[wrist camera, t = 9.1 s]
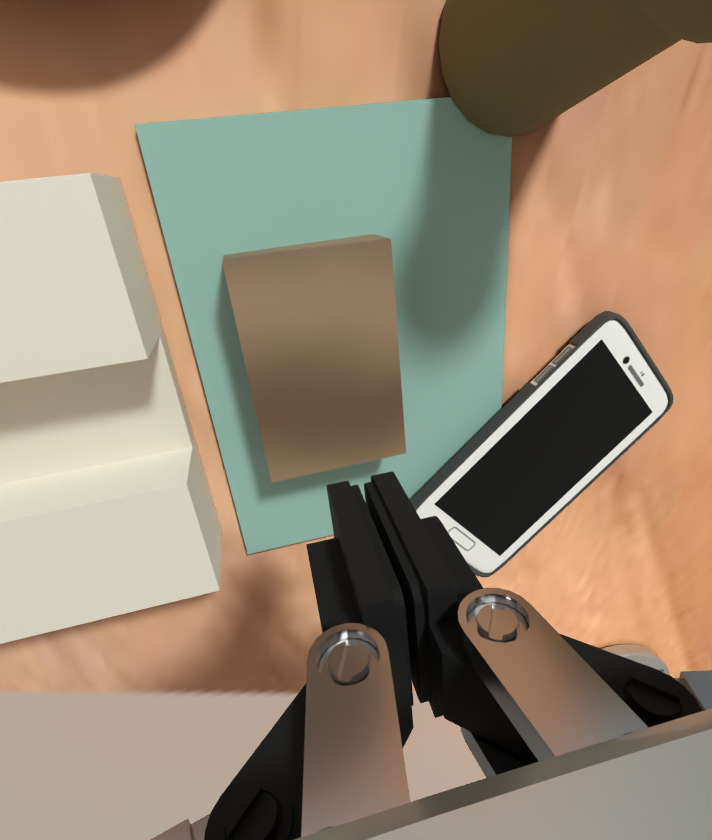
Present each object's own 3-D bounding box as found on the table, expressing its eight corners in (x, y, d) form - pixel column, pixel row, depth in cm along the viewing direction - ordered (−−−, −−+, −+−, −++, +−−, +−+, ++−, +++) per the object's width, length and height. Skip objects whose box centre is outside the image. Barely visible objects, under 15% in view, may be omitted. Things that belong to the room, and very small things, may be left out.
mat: (495, 493, 27) (498, 496, 27) (247, 550, 25) (247, 554, 25) (510, 92, 19) (513, 91, 18) (135, 125, 16) (134, 124, 16)
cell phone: (394, 511, 25) (400, 522, 24) (604, 301, 23) (619, 305, 22) (477, 571, 29) (485, 583, 28) (665, 395, 27) (680, 401, 26)
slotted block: (221, 532, 24) (219, 590, 21) (-42, 591, 22) (-94, 666, 19) (119, 177, 17) (89, 172, 13) (-282, 218, 15) (-440, 226, 11)
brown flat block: (271, 482, 20) (267, 454, 22) (406, 453, 21) (389, 429, 23) (222, 262, 16) (223, 255, 18) (391, 238, 17) (372, 233, 19)
